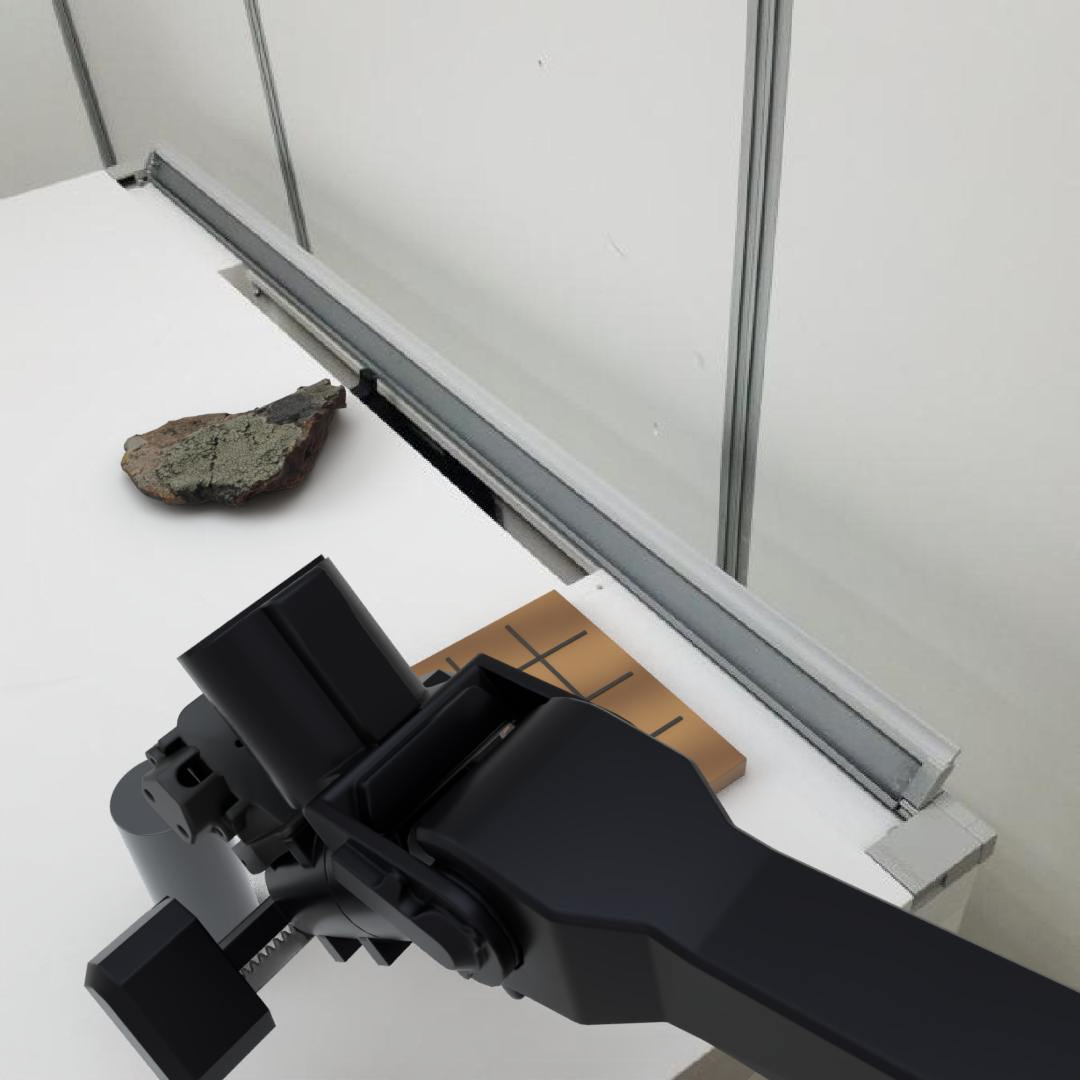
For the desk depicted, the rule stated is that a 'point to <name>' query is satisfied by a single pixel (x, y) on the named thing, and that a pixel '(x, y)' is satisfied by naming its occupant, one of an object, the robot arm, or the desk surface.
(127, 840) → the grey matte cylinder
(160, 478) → the rock
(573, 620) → the board
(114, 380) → the desk surface
